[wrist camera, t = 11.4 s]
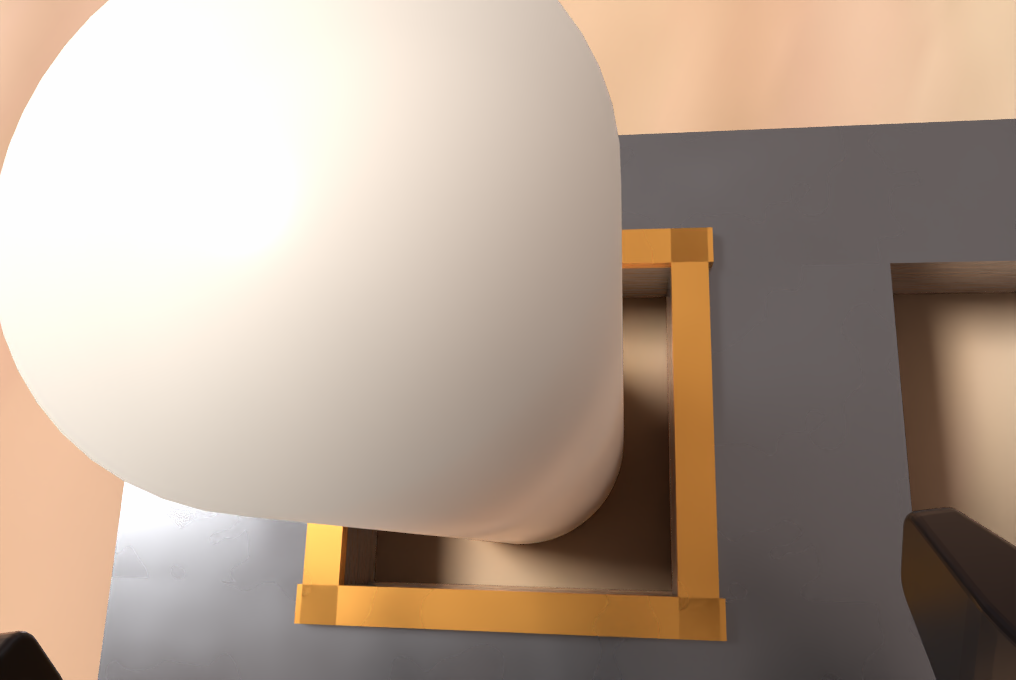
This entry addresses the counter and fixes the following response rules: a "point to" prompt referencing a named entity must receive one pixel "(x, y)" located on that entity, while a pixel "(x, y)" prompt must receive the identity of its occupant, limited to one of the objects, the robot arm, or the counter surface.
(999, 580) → the robot arm
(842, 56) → the counter surface
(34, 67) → the counter surface
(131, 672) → the grey flat block
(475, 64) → the cream peg
